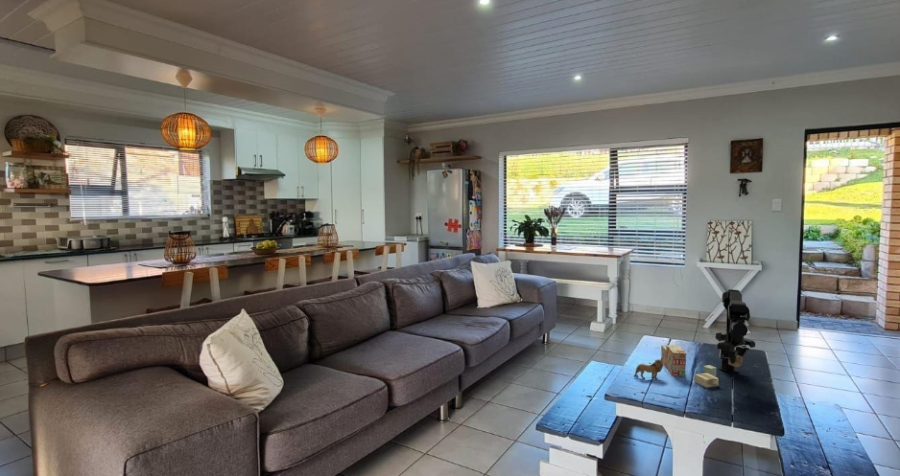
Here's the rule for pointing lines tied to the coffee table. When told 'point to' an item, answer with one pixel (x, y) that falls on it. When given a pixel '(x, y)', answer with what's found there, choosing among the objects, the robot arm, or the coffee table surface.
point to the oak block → (706, 380)
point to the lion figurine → (650, 368)
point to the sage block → (709, 370)
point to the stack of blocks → (674, 359)
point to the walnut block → (737, 361)
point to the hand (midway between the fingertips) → (735, 362)
